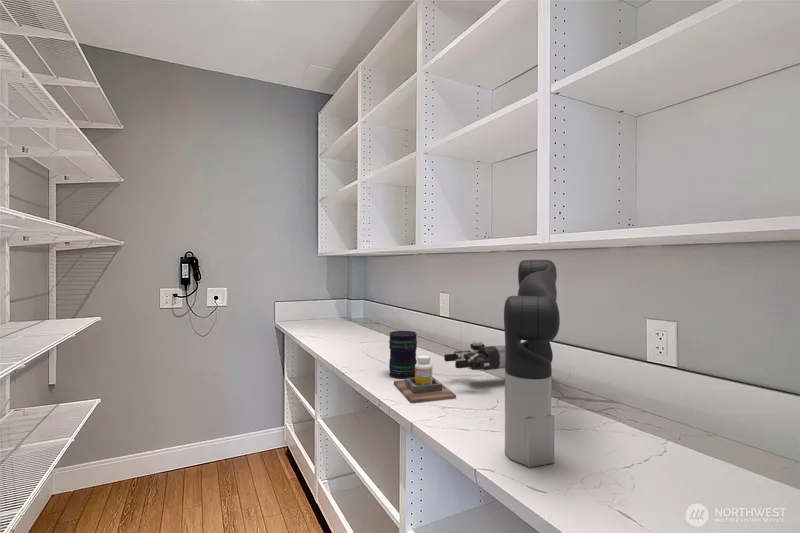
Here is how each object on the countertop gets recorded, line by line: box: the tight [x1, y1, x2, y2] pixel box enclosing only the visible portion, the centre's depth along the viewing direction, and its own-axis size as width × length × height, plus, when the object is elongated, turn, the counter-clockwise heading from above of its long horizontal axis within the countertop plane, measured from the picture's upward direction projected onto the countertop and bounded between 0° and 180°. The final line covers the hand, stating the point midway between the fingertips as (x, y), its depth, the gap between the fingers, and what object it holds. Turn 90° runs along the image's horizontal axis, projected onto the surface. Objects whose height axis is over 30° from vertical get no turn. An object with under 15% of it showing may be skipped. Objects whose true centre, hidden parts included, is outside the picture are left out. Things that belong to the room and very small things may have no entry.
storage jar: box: [388, 330, 418, 380], centre depth 138 cm, size 10×10×15 cm
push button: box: [470, 340, 486, 370], centre depth 147 cm, size 7×5×10 cm
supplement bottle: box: [414, 354, 433, 386], centre depth 121 cm, size 5×5×10 cm
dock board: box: [393, 376, 457, 404], centre depth 121 cm, size 18×14×3 cm
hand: (450, 361), depth 124 cm, fingers open, 8 cm apart
